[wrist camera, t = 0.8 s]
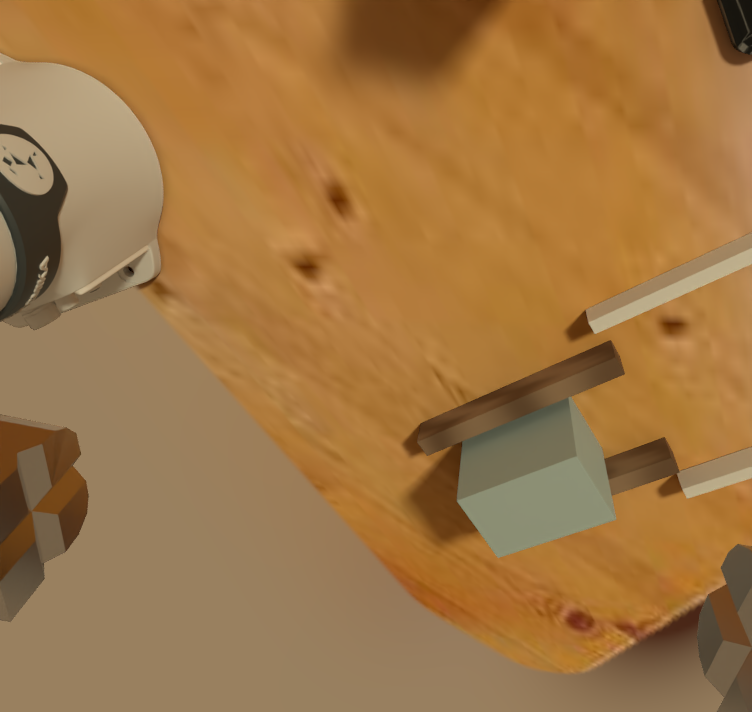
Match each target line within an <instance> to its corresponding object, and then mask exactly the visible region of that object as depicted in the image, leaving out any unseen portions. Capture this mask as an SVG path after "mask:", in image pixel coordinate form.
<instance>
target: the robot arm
mask: <svg viewBox="0 0 752 712" xmlns="http://www.w3.org/2000/svg"><path fill="white" fill-rule="evenodd" d="M162 206H163V181H162V174H161V169H160V165H159V161H158V158H157V155H156V152H155V150H154V147H153V145H152V143H151V141H150V139H149V137H148V135H147V133H146V131H145V129H144V128H143V126H142V125H141V123H140V122H139V120H138V119H137V117H136V116H135V115H134V113H133V112H132V111H131V110H130V108H129V107H128V106H127V105H126V104H125V103H124V102H123V101H122V100H121V99H120V98H119V97H118V96H117V95H116V94H115V93H114V92H113V91H111V90H110V89H109V88H108V87H106V86H105V85H104V84H102V83H101V82H99V81H98V80H96V79H94V78H93V77H91V76H89V75H87V74H85V73H83V72H81V71H79V70H77V69H74V68H71V67H68V66H64V65H60V64H55V63H46V62H21V61H16V60H14V59H12V58H10V57H8V56H6V55H4V54H2V53H0V322H1V321H3V322H5V323H8V324H10V325H12V326H15V327H24V326H28V325H29V326H30V328H31V329H33V330H36V329H39V328H41V327H43V326H45V325H47V324H49V323H50V322H52V321H54V320H55V319H57V318H58V317H59V316H60V314H61V313H63V312H66V311H69V310H71V309H74V308H77V307H80V306H82V305H85V304H88V303H90V302H93V301H96V300H98V299H101V298H104V297H107V296H109V295H112V294H115V293H117V292H120V291H123V290H125V289H128V288H131V287H134V286H136V285H139V284H142V283H145V282H147V281H149V280H151V279H153V278H154V277H156V276H157V275H158V274H159V272H160V270H161V258H160V252H159V246H158V241H157V230H158V225H159V221H160V217H161V212H162ZM128 266H129V267H131V268H132V269H133V270H134V273H132V272H130V270H129V269H128ZM80 455H81V451H80V447H79V444H78V439H77V434H76V433H75V432H73V431H71V430H70V429H68V428H66V427H61V426H56V425H51V424H46V423H41V422H36V421H31V420H25V419H21V418H16V417H11V416H6V415H0V620H2V621H8V622H10V621H12V619H13V618H14V617H15V615H16V614H17V613H18V612H19V610H20V609H21V608H22V607H23V605H24V604H25V603H26V602H27V600H28V599H29V598H30V596H31V595H32V594H33V593H34V591H35V590H36V589H37V588H38V586H39V585H40V584H41V583H42V581H43V580H44V563H45V562H47V561H49V560H51V559H53V558H54V557H56V556H58V555H60V554H62V553H64V552H66V551H67V549H68V548H69V547H70V545H71V544H72V543H73V541H74V540H75V539H76V537H77V536H78V535H79V532H80V530H81V527H82V525H83V522H84V519H85V517H86V514H87V508H88V490H87V484H86V480H85V479H84V478H83V477H82V476H81V475H80V474H79V473H78V471H77V470H76V469H75V468H74V467H73V464H74V463H75V462H76V460H77V459H78V458H79V456H80ZM721 570H722V572H723V575H724V578H725V580H726V583H727V584H726V585H724V586H723V587H721V588H719V589H717V590H715V591H714V592H712V593H710V594H708V596H707V598H706V601H705V603H704V605H703V608H702V610H701V613H700V616H699V626H698V636H697V640H698V649H699V657H700V661H701V664H702V668H703V671H704V675H705V677H706V678H707V679H708V680H709V682H710V683H711V684H712V685H713V686H714V687H715V688H716V689H717V690H718V691H719V692H720V693H721V694H722V696H723V697H724V699H723V701H722V703H721V705H720V707H719V709H718V710H717V712H752V546H747V545H741V544H737V545H736V546H735V547H734V548H733V549H732V550H731V551H729V552H728V554H727V556H726V558H725V560H724V562H723V564H722V566H721Z"/></svg>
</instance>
